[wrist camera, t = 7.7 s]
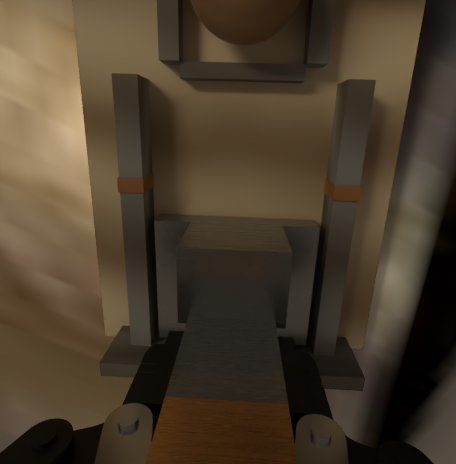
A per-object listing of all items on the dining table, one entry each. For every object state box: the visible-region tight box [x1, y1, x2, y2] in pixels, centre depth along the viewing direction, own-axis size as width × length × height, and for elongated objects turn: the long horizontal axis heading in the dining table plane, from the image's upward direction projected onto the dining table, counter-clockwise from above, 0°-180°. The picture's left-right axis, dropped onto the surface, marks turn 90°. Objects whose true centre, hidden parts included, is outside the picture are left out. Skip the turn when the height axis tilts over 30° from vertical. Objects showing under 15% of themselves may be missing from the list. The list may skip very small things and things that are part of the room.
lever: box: [145, 214, 320, 464], centre depth 11 cm, size 6×7×11 cm
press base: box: [72, 0, 426, 391], centre depth 13 cm, size 22×14×7 cm, turn 178°
